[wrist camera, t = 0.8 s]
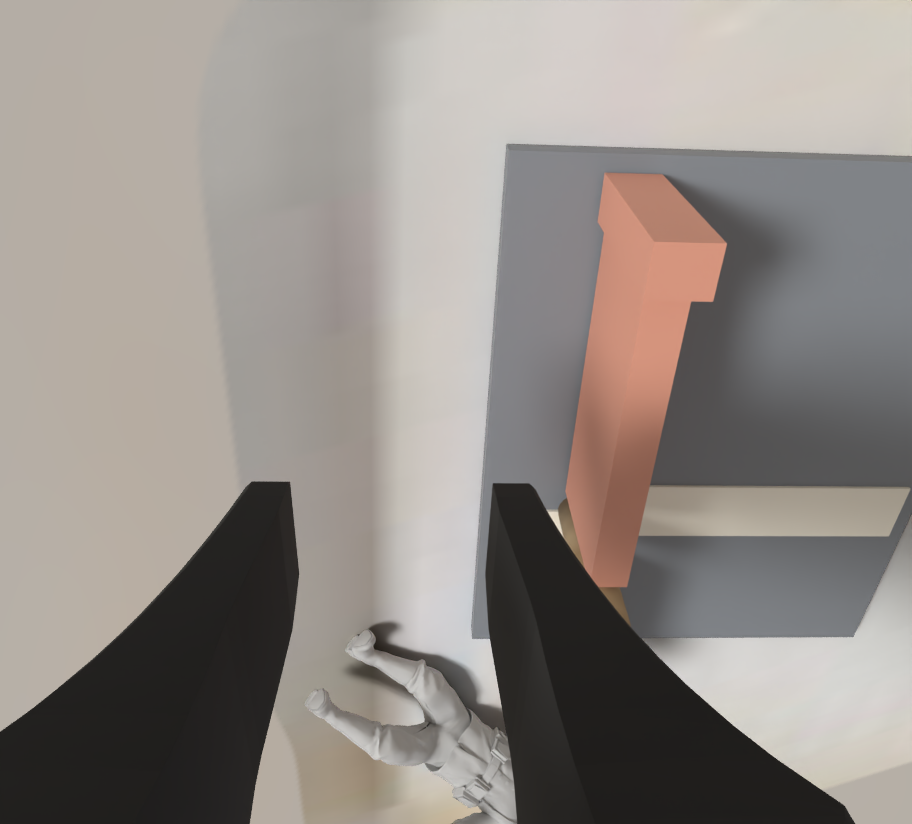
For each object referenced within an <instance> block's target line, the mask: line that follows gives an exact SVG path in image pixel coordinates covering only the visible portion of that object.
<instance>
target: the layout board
mask: <svg viewBox="0 0 912 824" xmlns="http://www.w3.org/2000/svg"><path fill="white" fill-rule="evenodd" d="M604 173H637V174H663V175H664V176H665V178H666V179H667V180H668V181H669V182H670V183H671V184H672V185H673V186H674V187H675V188H676V189H677V190H678V191H679V193H680V194H681V195H682V196H683V197H684V198H685V199H686V200H687V201H688V202H689V203H690V204H691V205H692V206H693V207H694V209H695V210H696V211H697V212H698V213H699V214H700V215H701V216H702V217H703V218H704V219H705V220H706V221H707V222H708V224H709V225H710V226H711V227H712V228H713V229H714V230H715V231H716V232H717V233H718V234H719V235H720V236H721V237H722V239H723V240H724V241H725V242H726V243H727V246H726V250H725V255H724V259H723V263H722V267H721V271H720V275H719V279H718V283H717V288H716V292H715V296H714V300H713V302H696V301H691V305H690V309H689V314H688V318H687V322H686V327H685V331H684V336H683V340H682V345H681V349H680V354H679V358H678V362H677V367H676V371H675V376H674V380H673V385H672V389H671V394H670V398H669V402H668V407H667V411H666V416H665V420H664V425H663V429H662V434H661V438H660V442H659V447H658V451H657V456H656V460H655V465H654V469H653V474H652V478H651V482H650V487H649V491H648V496H647V500H646V505H645V509H644V514H643V518H642V522H641V527H640V531H639V536H638V540H637V545H636V549H635V554H634V558H633V563H632V567H631V571H630V576H629V580H628V585H627V587H620V590H621V593H622V597H623V600H624V604H625V607H626V610H627V614H628V617H629V620H630V624H631V628H632V629H633V630H634V631H635V632H636V633H637V635H638V636H639V637H640V638H744V637H854V634H855V632H856V630H857V628H858V626H859V624H860V622H861V620H862V618H863V615H864V613H865V611H866V609H867V607H868V605H869V603H870V601H871V599H872V596H873V594H874V592H875V590H876V588H877V586H878V584H879V582H880V580H881V577H882V575H883V573H884V571H885V569H886V567H887V565H888V563H889V561H890V558H891V556H892V554H893V552H894V550H895V548H896V546H897V544H898V542H899V539H900V537H901V535H902V533H903V531H904V529H905V527H906V525H907V523H908V520H909V518H910V516H911V514H912V156H884V155H852V154H819V153H787V152H754V151H721V150H689V149H656V148H624V147H591V146H559V145H526V144H507V145H506V159H505V172H504V186H503V200H502V214H501V227H500V241H499V255H498V268H497V282H496V296H495V309H494V323H493V337H492V350H491V364H490V378H489V392H488V405H487V419H486V433H485V446H484V460H483V474H482V487H481V501H480V515H479V528H478V542H477V556H476V569H475V583H474V597H473V611H472V624H471V627H472V639H490V635H489V629H488V614H487V597H486V579H485V570H486V558H487V546H488V534H489V521H490V509H491V497H492V485H493V483H530V484H531V485H532V486H533V487H534V488H535V489H536V491H537V493H538V495H539V497H540V499H541V501H542V503H543V504H544V506H545V508H546V510H547V512H548V513H549V515H550V517H551V518H552V520H553V522H554V523H555V525H556V526H557V528H558V530H559V531H560V533H561V534H562V536H563V533H562V529H561V525H560V520H559V516H558V507H559V505H560V503H561V502H562V501H563V500H565V499H566V498H567V496H566V492H565V490H566V483H567V477H568V470H569V463H570V457H571V450H572V443H573V437H574V430H575V423H576V416H577V410H578V403H579V396H580V390H581V383H582V376H583V370H584V363H585V356H586V350H587V343H588V336H589V329H590V323H591V316H592V309H593V303H594V296H595V289H596V283H597V276H598V269H599V263H600V256H601V249H602V242H603V236H604V232H603V230H602V228H601V227H600V225H599V223H598V215H599V208H600V201H601V194H602V187H603V180H604Z"/></svg>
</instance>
